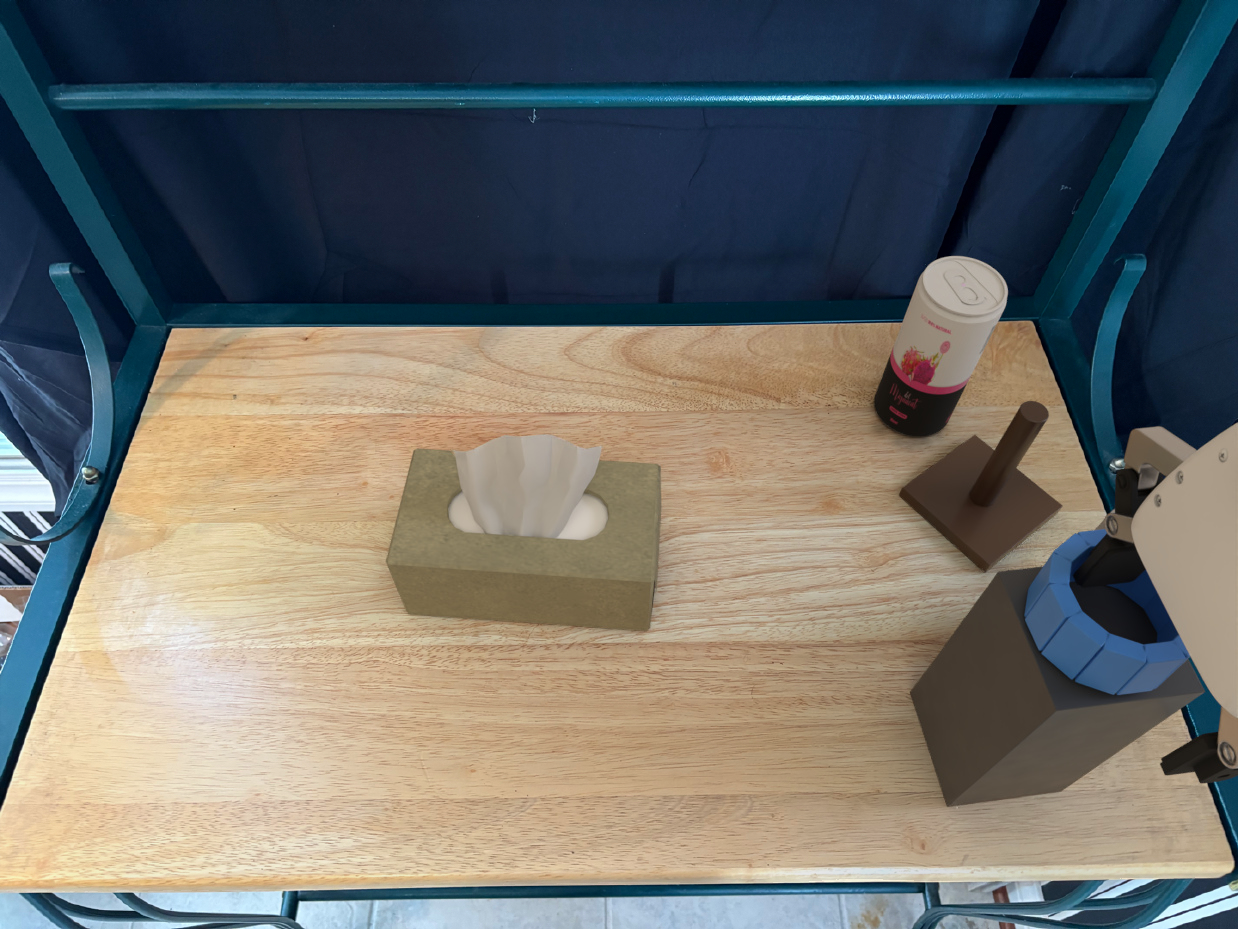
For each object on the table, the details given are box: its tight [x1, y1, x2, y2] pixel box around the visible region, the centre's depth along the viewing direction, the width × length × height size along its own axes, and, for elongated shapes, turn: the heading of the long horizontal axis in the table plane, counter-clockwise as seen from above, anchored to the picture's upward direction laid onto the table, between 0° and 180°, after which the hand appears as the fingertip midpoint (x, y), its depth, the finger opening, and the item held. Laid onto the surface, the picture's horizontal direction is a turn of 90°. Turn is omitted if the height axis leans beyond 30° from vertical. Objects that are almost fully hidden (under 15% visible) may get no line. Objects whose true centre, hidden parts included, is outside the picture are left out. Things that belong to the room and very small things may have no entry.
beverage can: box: [873, 255, 1009, 438], centre depth 74 cm, size 6×6×15 cm
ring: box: [1024, 529, 1191, 695], centre depth 47 cm, size 8×8×4 cm
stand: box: [898, 400, 1063, 573], centre depth 69 cm, size 9×9×12 cm
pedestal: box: [909, 566, 1206, 808], centre depth 56 cm, size 8×8×18 cm
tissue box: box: [385, 433, 662, 632], centre depth 64 cm, size 19×10×16 cm, turn 86°
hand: (1143, 666), depth 45 cm, fingers open, 9 cm apart
